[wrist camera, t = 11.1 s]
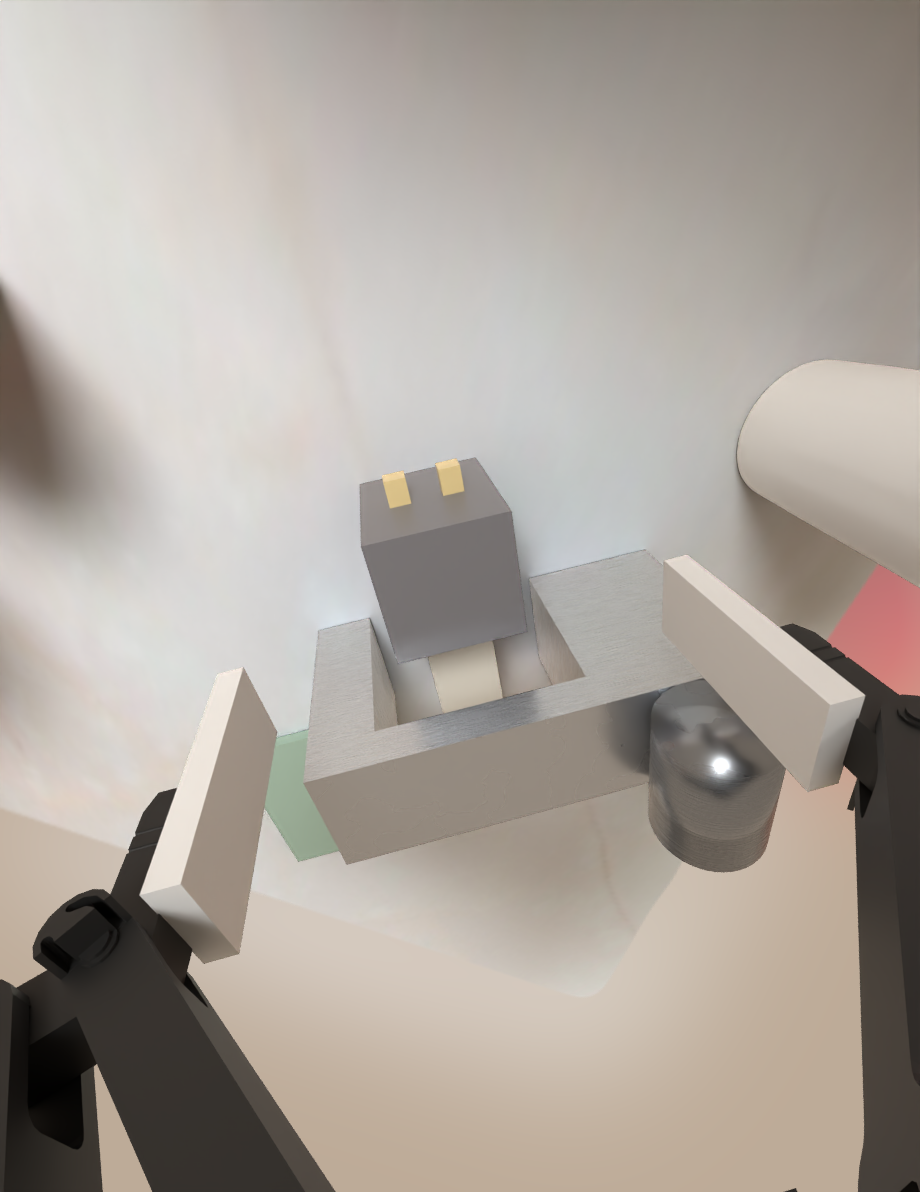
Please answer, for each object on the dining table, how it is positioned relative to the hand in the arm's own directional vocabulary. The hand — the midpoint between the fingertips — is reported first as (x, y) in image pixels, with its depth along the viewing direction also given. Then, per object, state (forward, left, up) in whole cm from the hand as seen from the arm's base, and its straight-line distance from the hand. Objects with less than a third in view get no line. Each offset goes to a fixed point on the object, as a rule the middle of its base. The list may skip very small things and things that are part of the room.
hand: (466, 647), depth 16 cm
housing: (+6, +2, -9) cm, 11 cm away
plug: (+4, 0, -9) cm, 9 cm away
